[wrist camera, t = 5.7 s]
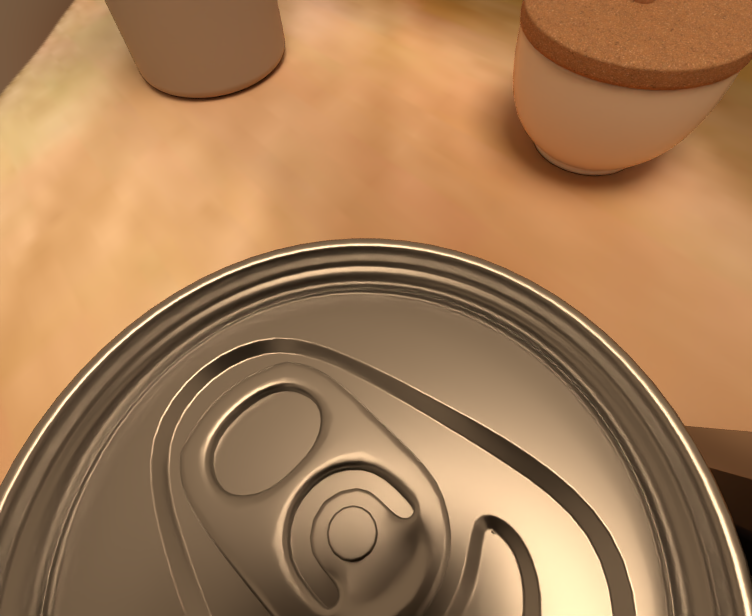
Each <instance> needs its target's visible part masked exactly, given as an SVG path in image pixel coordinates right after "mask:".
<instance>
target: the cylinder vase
mask: <svg viewBox="0 0 752 616" xmlns="http://www.w3.org/2000/svg"><path fill="white" fill-rule="evenodd" d="M105 2H106V4H107V6H108V8H109V10H110V12H111V14H112V16H113V19H114V21H115V23H116V25H117V27H118V29H119V31H120V33H121V35H122V37H123V39H124V41H125V43H126V45H127V47H128V49H129V52H130V54H131V56H132V58H133V60H134V62H135V64H136V66H137V68H138V70H139V72H140V74H141V75H142V77H143V78H144V79H145V80H146V81H147V82H148V83H149V84H151V85H152V86H153V87H155V88H157V89H158V90H160V91H163V92H165V93H168V94H171V95H175V96H180V97H188V98H207V97H216V96H221V95H226V94H230V93H234V92H237V91H240V90H242V89H245V88H247V87H249V86H251V85H253V84H255V83H257V82H259V81H260V80H262V79H263V78H265V77H266V76H267V75H268V74H269V73H271V72H272V71H273V70H274V68H275V67H276V66H277V65H278V63H279V62H280V60H281V58H282V56H283V53H284V48H285V38H284V33H283V28H282V23H281V18H280V13H279V8H278V3H277V0H105Z"/></svg>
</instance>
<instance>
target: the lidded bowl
mask: <svg viewBox="0 0 752 616" xmlns="http://www.w3.org/2000/svg"><path fill="white" fill-rule="evenodd" d="M520 22H521V23H520V28H519V32H518V37H517V43H516V49H515V57H514V69H513V95H514V100H515V105H516V110H517V114H518V116H519V119H520V121H521V123H522V125H523V128H524V129H525V131H526V132H527V134H528V135H529V136H530V138H531V139H532V141H533V142H534V144H535V146H536V148H537V150H538V151H539V152H540V154H541V155H542V156H543V157H544V158H545V159H547V160H548V161H549V162H551V163H552V164H554V165H556V166H557V167H559V168H562V169H564V170H567V171H570V172H573V173H577V174H582V175H608V174H612V173H616V172H618V171H621V170H623V169H625V168H627V167H631V166H635V165H638V164H641V163H644V162H647V161H649V160H652V159H654V158H655V157H657V156H659V155H661V154H663V153H665V152H666V151H668V150H670V149H671V148H673V147H674V146H675V145H677V144H678V143H679V142H681V141H682V140H683V139H685V138H686V137H687V136H688V135H689V134H690V133H691V132H692V131H693V130H694V129H695V128H696V127H697V126H698V125H699V124H700V123H701V122H702V121H703V120H704V119H705V118H706V117H707V116H708V115H709V113H710V112H711V111H712V110H713V109H714V107H715V106H716V105H717V104H718V103H719V101H720V100H721V98H722V97H723V96H724V94H725V93H726V91H727V90H728V89H729V87H730V86H731V84H732V83H733V81H734V80H735V78H736V77H737V75H738V73H739V72H740V70H741V69H743V68H744V67H745V66H746V65H747V64H748V63H749V62H750V60H751V59H752V0H523V2H522V7H521V17H520Z"/></svg>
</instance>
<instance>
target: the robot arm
mask: <svg viewBox="0 0 752 616" xmlns="http://www.w3.org/2000/svg"><path fill="white" fill-rule="evenodd" d="M709 469H710V471H711V472H712V474H713V476H714V478H715V480H716V483H717V485H718V487H719V489H720V492H721V494H722V496H723V498H724V501H725V503H726V505H727V507H728V510H729V512H730V514H731V517H732V519H733V522H734V525H735V528H736V531H737V534H738V536H739V539H740V542H741V545H742V548H743V551H744V554H745V556H746V559H747V563H748V567H749V571H750V575H751V578H752V479H750V478H746V477H743V476H739V475H735V474H732V473H728V472H725V471H721V470H718V469H714V468H710V467H709Z"/></svg>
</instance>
